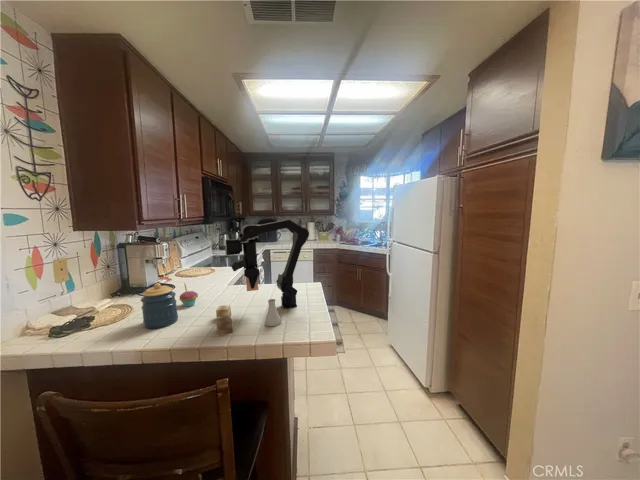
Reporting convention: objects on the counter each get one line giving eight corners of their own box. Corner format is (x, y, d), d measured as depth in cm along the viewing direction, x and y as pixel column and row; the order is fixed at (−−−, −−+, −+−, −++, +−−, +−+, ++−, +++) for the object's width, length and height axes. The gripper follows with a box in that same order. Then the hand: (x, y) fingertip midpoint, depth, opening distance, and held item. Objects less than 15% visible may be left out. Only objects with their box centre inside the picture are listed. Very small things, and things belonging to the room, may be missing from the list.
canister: (158, 331, 107) (153, 289, 105) (136, 327, 112) (131, 286, 110) (185, 318, 119) (181, 280, 117) (163, 315, 124) (159, 278, 122)
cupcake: (176, 307, 134) (173, 284, 132) (190, 301, 142) (188, 279, 140) (188, 309, 130) (186, 285, 129) (202, 303, 138) (200, 280, 137)
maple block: (231, 315, 121) (230, 305, 120) (228, 320, 116) (227, 309, 115) (219, 316, 120) (219, 305, 120) (216, 321, 115) (215, 310, 115)
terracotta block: (257, 286, 124) (257, 276, 124) (258, 289, 120) (257, 279, 119) (246, 288, 123) (245, 277, 122) (246, 291, 118) (246, 280, 118)
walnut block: (229, 327, 109) (228, 316, 108) (232, 332, 104) (231, 320, 104) (217, 331, 106) (215, 319, 105) (219, 336, 102) (218, 323, 101)
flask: (278, 327, 107) (276, 303, 106) (261, 326, 109) (259, 302, 107) (284, 319, 114) (282, 297, 113) (268, 319, 116) (266, 296, 114)
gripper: (231, 251, 126) (234, 283, 128) (230, 258, 108) (233, 295, 110) (255, 249, 129) (257, 280, 131) (258, 255, 111) (260, 292, 113)
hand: (252, 286), depth 121 cm, fingers closed on terracotta block, 5 cm apart
